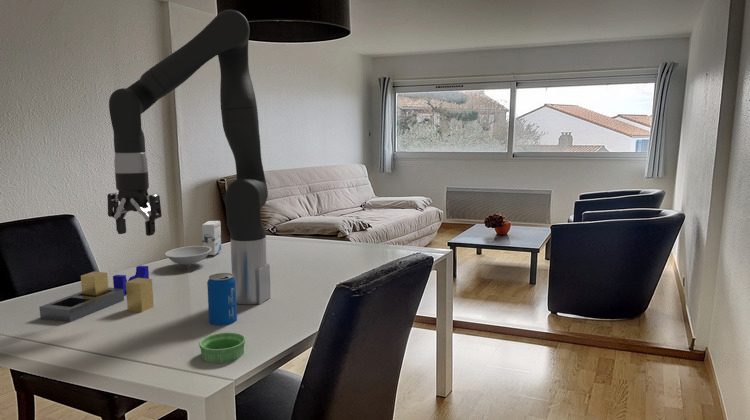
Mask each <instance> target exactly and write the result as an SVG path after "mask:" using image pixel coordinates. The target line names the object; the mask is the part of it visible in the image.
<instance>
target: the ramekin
mask: <svg viewBox="0 0 750 420" xmlns="http://www.w3.org/2000/svg"><path fill="white" fill-rule="evenodd" d="M245 343H246V336H245V335H243V334H241V333H238V332H231V331H230V332H229V331H227V332H218V333H213V334H209V335H207V336H205V337H203V338H201V340H200V341H199V343H198V344H199V345H198V346H199V349H200V353H201V354H200V355H201V359H202V360H203V361H205V362H207V363H212V364H213V363H214V364H215V363H216V364H218V363H219V364H221V363H229V362H232V361H234V360H237V359H239V358H241V357H242V356H244V355H245V354H244V353H245Z"/></svg>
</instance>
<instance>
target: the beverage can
mask: <svg viewBox="0 0 750 420" xmlns="http://www.w3.org/2000/svg"><path fill="white" fill-rule="evenodd" d="M206 284H207V285H206V286H207V303H208V320H209V321H208V323H209V324H210V325H212V326H218V327H219V326H227V325H231V324H234V323H236V322H237V321H238V312H237V311H238V310H237V309H238V307H237V303H236V281H235V278H234V277H233V274H232V273H230V272H218V273H214V274H213V273H212V274H211V275H209V276H208V280H207V282H206Z"/></svg>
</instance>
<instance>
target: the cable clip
mask: <svg viewBox="0 0 750 420" xmlns="http://www.w3.org/2000/svg"><path fill="white" fill-rule="evenodd" d="M135 270H136V271H135V274H134V275H132V276H130V277H129V278H128V279H127V275H126V274H115V275H112V281H113V282H112V284H113V288H120V289H123V292H124V297H127V294H126V282H128V281H130V280H133V279H136V278H146V279H150V274H149V273H150V272H149V266H148V265H137V266H136V267H135Z"/></svg>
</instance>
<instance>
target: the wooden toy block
mask: <svg viewBox="0 0 750 420" xmlns="http://www.w3.org/2000/svg"><path fill="white" fill-rule="evenodd" d="M126 294H127V295H126V304H127V305H126V307H127V311H128V312H137V313H138V312H139V313H143V312H146V311H148V310H150V309H152V308H154V305H155V304H154V290H153V279H152V278H149V279H146V278H136V279H133V280H130V281H128V280H127V282H126Z"/></svg>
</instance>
